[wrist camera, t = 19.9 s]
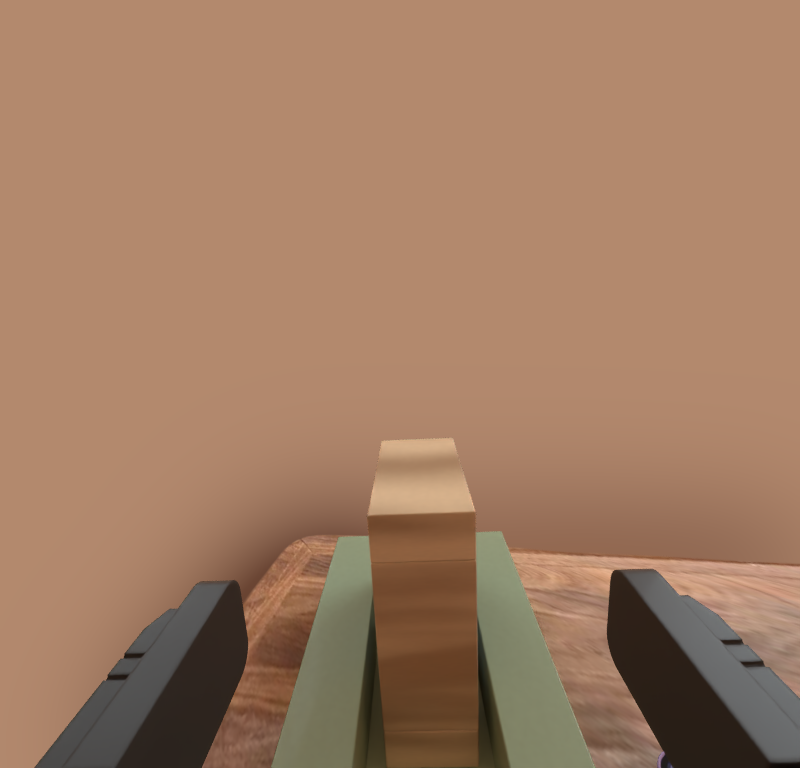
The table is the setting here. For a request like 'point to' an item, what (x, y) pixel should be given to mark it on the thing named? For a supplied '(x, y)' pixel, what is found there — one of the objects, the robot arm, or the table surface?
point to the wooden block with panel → (425, 604)
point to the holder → (360, 686)
